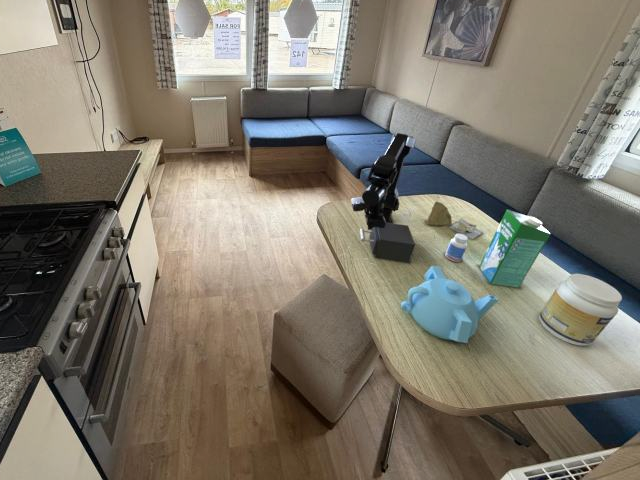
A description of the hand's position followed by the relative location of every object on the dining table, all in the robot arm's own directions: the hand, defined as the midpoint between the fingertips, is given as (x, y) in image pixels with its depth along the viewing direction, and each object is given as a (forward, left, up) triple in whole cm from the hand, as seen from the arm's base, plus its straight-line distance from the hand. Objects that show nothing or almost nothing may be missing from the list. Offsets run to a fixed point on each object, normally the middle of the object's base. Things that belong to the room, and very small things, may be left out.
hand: (369, 229), depth 119 cm
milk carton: (+6, +45, -8) cm, 46 cm away
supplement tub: (+26, +54, -8) cm, 61 cm away
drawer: (0, +5, -7) cm, 9 cm away
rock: (-26, +34, -8) cm, 44 cm away
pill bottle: (-1, +33, -8) cm, 34 cm away
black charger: (0, +9, -8) cm, 12 cm away
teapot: (+31, +19, -8) cm, 37 cm away
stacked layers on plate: (-23, +44, -8) cm, 51 cm away
